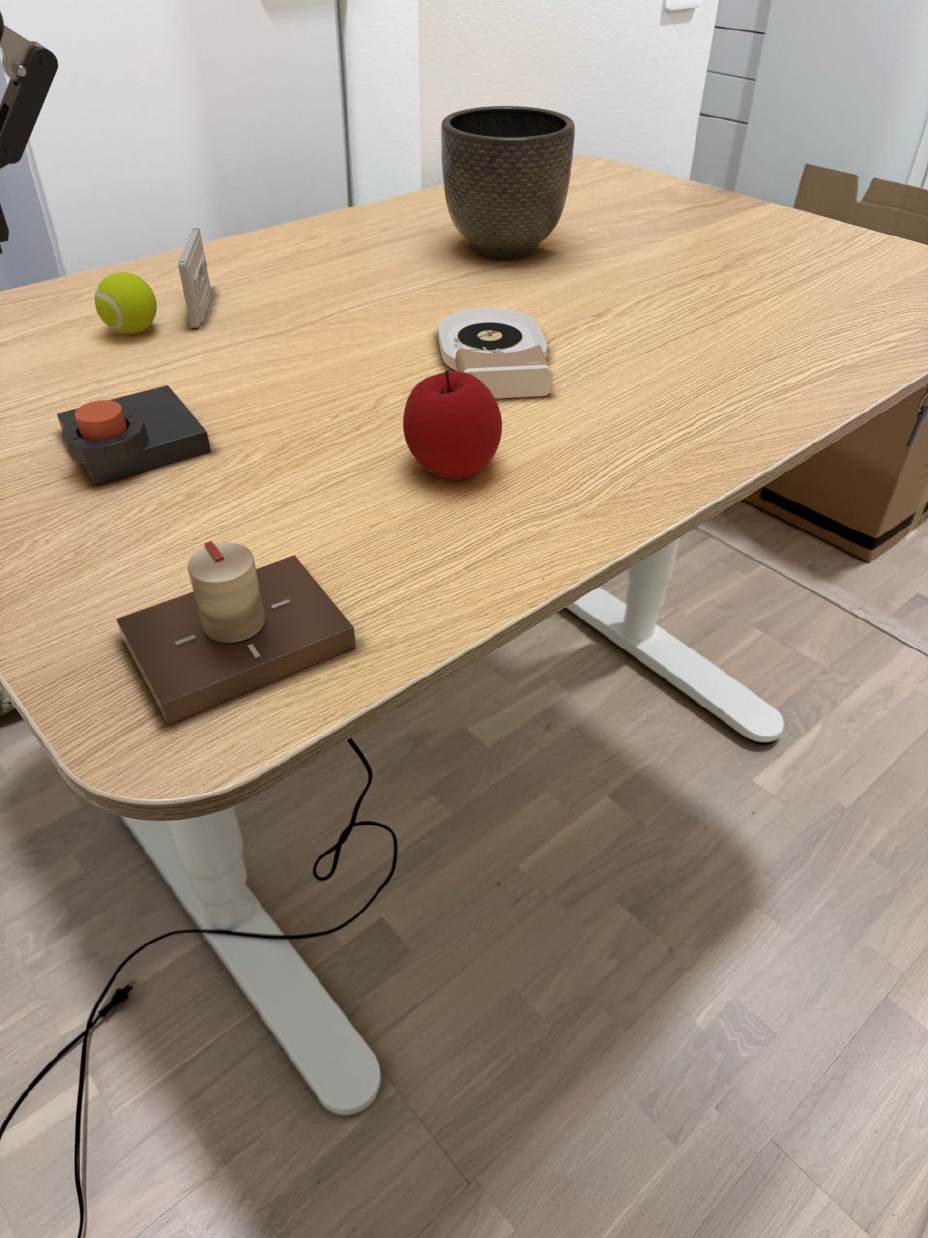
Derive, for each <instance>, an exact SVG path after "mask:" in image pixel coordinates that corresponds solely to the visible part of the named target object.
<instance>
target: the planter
mask: <svg viewBox="0 0 928 1238" xmlns="http://www.w3.org/2000/svg"><path fill="white" fill-rule="evenodd" d="M575 138H576V125H575V122H574V120H573V119H572V118H571V117H570V116H568V115H566V114H563V113H561V112H558V111H556V110H555V111H554V110H551V109H545V108H541V107H540V108H539V107H533V106H521V105H492V106H480V107H471V108H466V109H462V110H461V109H460V110H458V111H454V112H452V113H450V114H448V115H446V116H445V117H444V118H443V119H442V120H441V125H440V141H441V142H440V145H441V147H440V148H441V149H440V150H441V151H440V153H441V155H440V156H441V157H440V159H441V170H442V181H443V190H444V197H445V202H446V207H447V211H448V214H449V217H450V219H451V221H452V224H453V226H454V227H455V229H456V230H457V232H458V233H459V234H460V235H461V236H462V237H463V238H464V239H465V241H468V242H469V245H470V248H471V249H472V250H473V252H474V253H476V254H477V255H479V256H481V257H484V258H487V259H492V260H500V261H501V260H504V261H505V260H507V261H508V260H510V261H511V260H519V259H523V258H526V257H527V258H528V257H529V256H531V255H533V254H534V253H535V252H536V250H537V249H538V247H539V245H540V244H541V243H542V242H543V241H544V240H545V239H547V238H548V237H549V236H550V235H551V234H552V232H553V231H554V230H555V228H556V227H557V226H558V224H559V223H560V221H561V217H562V215H563V212H564V209H565V206H566V201H567V198H568V192H569V187H570V181H571V180H570V179H571V173H572V167H573V161H574V160H573V159H574V147H575Z"/></svg>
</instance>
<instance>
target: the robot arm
mask: <svg viewBox="0 0 928 1238" xmlns="http://www.w3.org/2000/svg"><path fill="white" fill-rule="evenodd" d="M0 49H1V51H2V60H1V67H2V70H3V72H4V74H6V76H7V77H9V78H10V79H9V81H8V84H7V86H6V89H5V91H4V93H3V96H2V99H1V101H0V170H1V169H3V168H5V167H6V166H8V165H15V164H17V163H19V162H20V161H21V160H22V158H23V156H24V153H25V150H26V148H27V146H28V143H29V140H30V138H31V136H32V133H33V131H34V129H35V126H36V124H37V121H38V118H39V116H40V114H41V111H42V109H43V106H44V104H45V101H46V99H47V96H48V94H49V92H50V90H51V89H50V88H51V86H52V84H53V81H54V79H55V77H56V75H57V72H58V69H59V61H58V58H57V56H56V55H55V54H54V52H53V51H51V50H50V49H49V48H47V47H46V46H44V45H42V44H40V43H39V42H37V41H33V40H29V39H27V38H26V37H24V36H22V35H21V34H20V33H18V32H16V31H14V30H13V29H12V28H10V27H8V26H7V25H5V21H4V17H3V14H2V12H1V11H0ZM2 207H3V206H2V205H1V203H0V243H4V242H9V238H10V230H9V226H8V223H7V220H6V218H5V214H4V211H3V208H2ZM3 253H4V252H3V248H2V246H1V244H0V255H2V254H3Z"/></svg>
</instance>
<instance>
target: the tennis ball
mask: <svg viewBox="0 0 928 1238" xmlns="http://www.w3.org/2000/svg"><path fill="white" fill-rule="evenodd" d="M157 303H158V302H157V298H156V295H155V293H154V291H153V290H152V287H151V286H150V285H149V284H148V282H147V281H145V280H144V279H143V278H141V277H140V276H138V275H137V274H133V273H131V272H127V271H119V272H114V273H111V274H109V275H107V276H105V277H104V278H103V279H102V280H101V281H100V282H99V283H98V285H97V288H96V290H95V293H94V306H95V311H96V313H97V315H98V317H99V318H100V320H101V321H102V322H103V323H104V324H105V325H106V326H107V327H108V328H110V329H111V330H113V331H115V332H117V333H120V334H126V335H132V334H133V335H134V334H138V333H142V332H143V331H145V330H146V329H148V328H149V327H150V326H151V324H153V322H154V320H155V318H156V315H157V312H158V311H157V310H158V304H157Z"/></svg>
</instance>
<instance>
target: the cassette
mask: <svg viewBox="0 0 928 1238" xmlns="http://www.w3.org/2000/svg"><path fill="white" fill-rule="evenodd" d="M202 239H203V238H202V233H201V228H200V227H195V228H192V229H191V230H190V232H189V235H188V237H187V239H186V242H185V245H184V247H183V249H182V251H181V254H180V257H179V258H178V259H179V260H178V262H177V266H178V271H179V277H180V280H181V281H180V282H181V287H182V290H183V297H184V301H185V306H186V310H187V311H186V312H187V315H188V321H189V325H190V329H199V328H200V326H201V323H204V322H205V319H206V316H207V312H208V309H209V306H210V303H211V299H212V296H213V294H212V288H211V282H210V277H209V271H208V265H207V259H206V254H205V250H204V244H203V240H202Z"/></svg>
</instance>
